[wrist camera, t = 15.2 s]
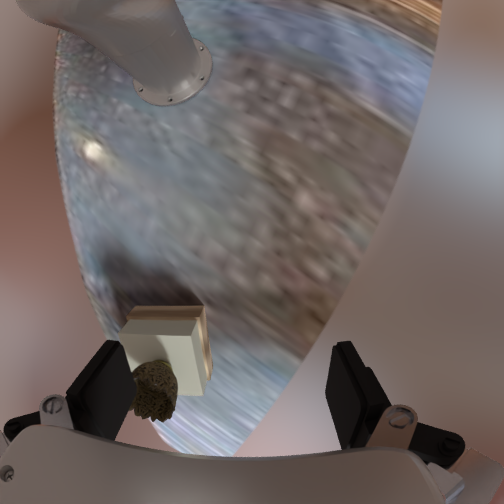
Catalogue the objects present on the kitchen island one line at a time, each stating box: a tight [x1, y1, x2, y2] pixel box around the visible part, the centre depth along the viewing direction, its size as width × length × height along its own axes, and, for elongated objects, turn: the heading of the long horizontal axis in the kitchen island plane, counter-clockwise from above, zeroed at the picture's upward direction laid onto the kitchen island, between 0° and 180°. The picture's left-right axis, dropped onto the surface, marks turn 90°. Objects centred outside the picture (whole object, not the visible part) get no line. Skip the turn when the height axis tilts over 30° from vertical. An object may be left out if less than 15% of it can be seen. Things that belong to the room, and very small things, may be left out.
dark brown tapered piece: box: [129, 359, 178, 422], centre depth 31 cm, size 8×7×8 cm
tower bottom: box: [126, 305, 213, 380], centre depth 42 cm, size 12×12×4 cm
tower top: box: [118, 319, 207, 396], centre depth 37 cm, size 11×11×4 cm
